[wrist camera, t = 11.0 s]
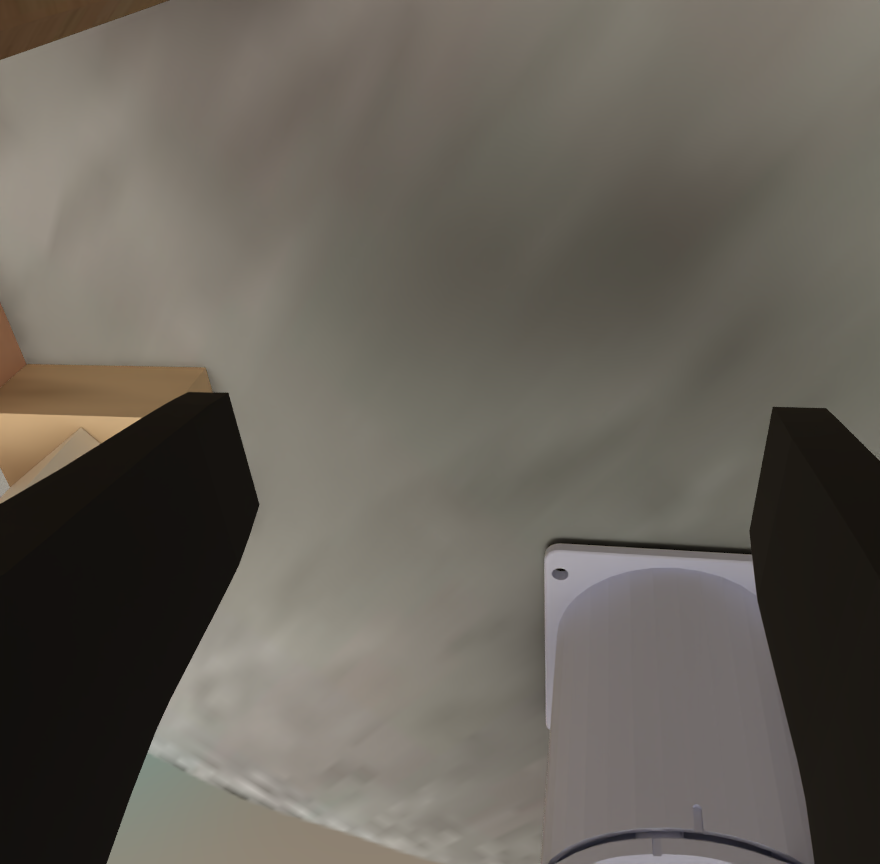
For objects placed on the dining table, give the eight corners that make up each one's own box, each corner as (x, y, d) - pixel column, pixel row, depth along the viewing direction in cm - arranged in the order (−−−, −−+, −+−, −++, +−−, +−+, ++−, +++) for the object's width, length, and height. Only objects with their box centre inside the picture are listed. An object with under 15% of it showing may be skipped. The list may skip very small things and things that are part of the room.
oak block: (252, 512, 28) (219, 575, 25) (95, 504, 29) (48, 564, 26) (210, 361, 24) (166, 418, 22) (32, 359, 25) (-28, 412, 23)
